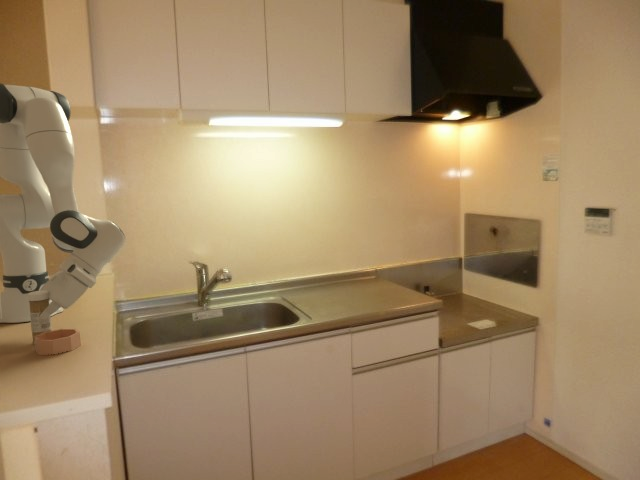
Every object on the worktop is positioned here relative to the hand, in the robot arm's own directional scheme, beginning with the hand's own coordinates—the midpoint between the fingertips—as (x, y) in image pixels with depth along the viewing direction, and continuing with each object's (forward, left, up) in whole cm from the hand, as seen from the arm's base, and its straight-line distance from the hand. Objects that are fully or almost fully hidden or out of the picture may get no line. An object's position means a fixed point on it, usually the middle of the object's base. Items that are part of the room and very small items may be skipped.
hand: (38, 314), depth 111 cm
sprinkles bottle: (0, +1, -8) cm, 8 cm away
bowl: (+8, +3, -8) cm, 11 cm away
